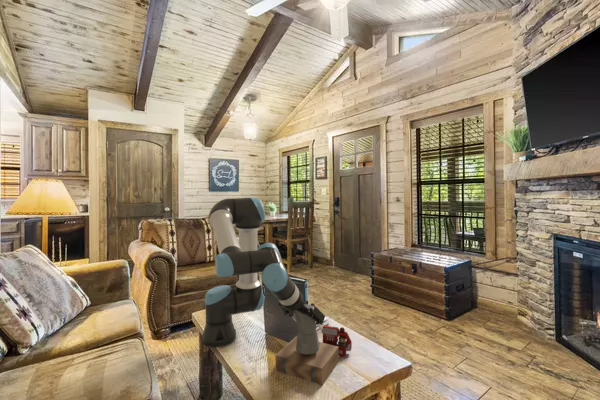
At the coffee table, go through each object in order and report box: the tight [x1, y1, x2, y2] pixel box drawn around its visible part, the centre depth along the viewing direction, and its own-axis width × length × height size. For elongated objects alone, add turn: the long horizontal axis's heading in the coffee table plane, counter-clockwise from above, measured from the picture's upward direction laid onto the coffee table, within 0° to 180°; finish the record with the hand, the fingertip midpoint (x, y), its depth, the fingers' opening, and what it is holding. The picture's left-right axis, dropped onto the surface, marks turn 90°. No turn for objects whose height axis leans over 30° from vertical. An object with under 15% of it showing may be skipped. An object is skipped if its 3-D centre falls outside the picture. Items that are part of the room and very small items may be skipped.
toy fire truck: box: [321, 325, 352, 358], centre depth 123 cm, size 7×12×10 cm, turn 73°
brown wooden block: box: [274, 335, 340, 386], centre depth 113 cm, size 19×16×6 cm
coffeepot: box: [295, 300, 320, 354], centre depth 113 cm, size 15×9×18 cm, turn 12°
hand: (310, 323), depth 115 cm, fingers closed on coffeepot, 9 cm apart
